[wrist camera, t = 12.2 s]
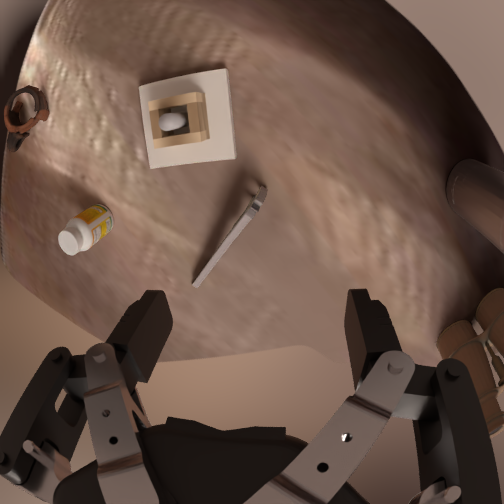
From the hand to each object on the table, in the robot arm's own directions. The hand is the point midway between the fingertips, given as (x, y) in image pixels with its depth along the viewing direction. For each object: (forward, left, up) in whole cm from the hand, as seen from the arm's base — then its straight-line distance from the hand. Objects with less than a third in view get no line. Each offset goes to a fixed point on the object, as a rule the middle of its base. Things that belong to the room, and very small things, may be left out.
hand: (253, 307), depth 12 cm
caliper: (+8, +10, -29) cm, 31 cm away
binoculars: (-41, +30, -28) cm, 58 cm away
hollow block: (+11, -8, -27) cm, 30 cm away
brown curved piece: (+41, -16, -28) cm, 53 cm away
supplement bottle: (+29, +5, -28) cm, 41 cm away
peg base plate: (+11, -8, -28) cm, 31 cm away
